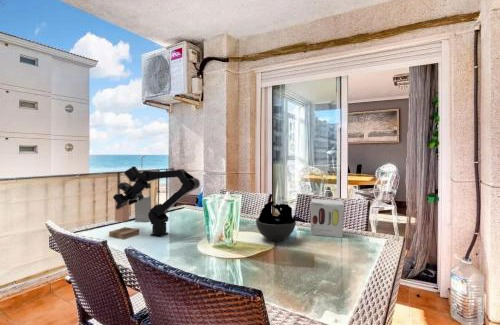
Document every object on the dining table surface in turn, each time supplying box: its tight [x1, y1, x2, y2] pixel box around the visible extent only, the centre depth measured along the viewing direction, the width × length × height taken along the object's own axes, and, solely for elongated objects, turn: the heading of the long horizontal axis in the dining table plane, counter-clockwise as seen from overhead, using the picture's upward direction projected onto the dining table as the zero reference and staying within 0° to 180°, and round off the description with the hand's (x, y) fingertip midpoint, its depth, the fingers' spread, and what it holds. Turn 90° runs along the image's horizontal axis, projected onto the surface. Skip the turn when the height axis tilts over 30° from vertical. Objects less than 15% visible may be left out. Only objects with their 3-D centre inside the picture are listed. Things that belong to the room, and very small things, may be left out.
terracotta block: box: [114, 200, 130, 223], centre depth 153 cm, size 5×5×13 cm
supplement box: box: [309, 198, 345, 238], centre depth 157 cm, size 17×13×18 cm
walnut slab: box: [108, 226, 140, 240], centre depth 145 cm, size 10×10×3 cm
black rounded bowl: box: [255, 200, 297, 242], centre depth 142 cm, size 20×20×19 cm
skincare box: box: [134, 195, 152, 223], centre depth 177 cm, size 8×7×16 cm
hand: (119, 207), depth 153 cm, fingers closed on terracotta block, 5 cm apart
